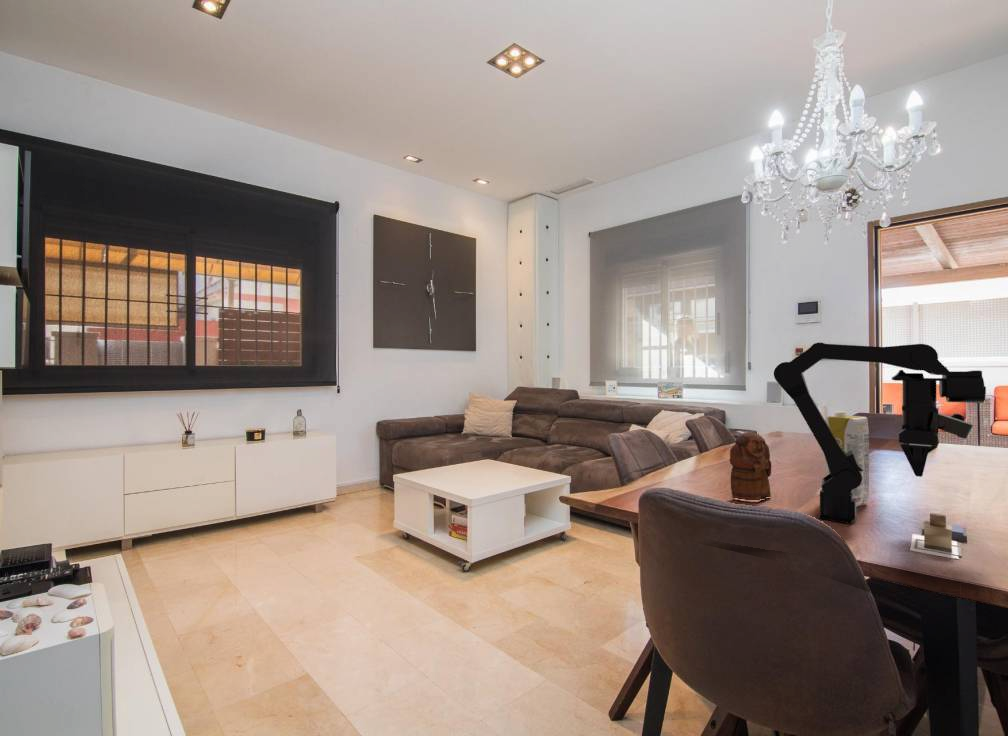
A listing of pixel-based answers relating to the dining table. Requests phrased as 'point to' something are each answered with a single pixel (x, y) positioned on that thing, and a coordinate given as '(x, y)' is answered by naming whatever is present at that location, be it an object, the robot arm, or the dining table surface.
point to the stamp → (938, 533)
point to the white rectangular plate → (918, 546)
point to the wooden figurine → (750, 467)
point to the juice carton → (853, 447)
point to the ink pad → (954, 532)
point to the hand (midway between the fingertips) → (919, 472)
